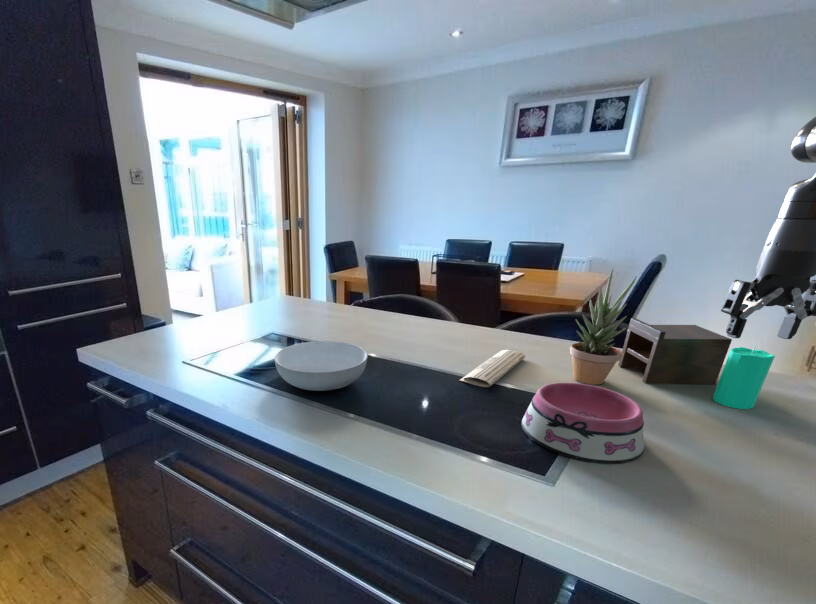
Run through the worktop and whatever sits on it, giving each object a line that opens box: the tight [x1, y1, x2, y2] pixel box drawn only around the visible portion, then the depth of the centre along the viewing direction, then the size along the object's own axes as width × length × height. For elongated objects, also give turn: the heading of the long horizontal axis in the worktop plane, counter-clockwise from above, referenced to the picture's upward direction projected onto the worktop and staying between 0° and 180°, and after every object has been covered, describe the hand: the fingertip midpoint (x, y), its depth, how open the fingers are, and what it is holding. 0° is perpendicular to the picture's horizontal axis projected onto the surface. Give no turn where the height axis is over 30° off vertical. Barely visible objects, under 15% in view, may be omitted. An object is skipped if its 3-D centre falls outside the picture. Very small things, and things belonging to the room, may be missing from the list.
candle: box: [712, 344, 776, 410], centre depth 84 cm, size 6×6×12 cm
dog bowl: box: [520, 382, 645, 464], centre depth 76 cm, size 18×19×7 cm
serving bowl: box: [274, 340, 368, 392], centre depth 100 cm, size 21×21×7 cm
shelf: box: [618, 317, 733, 386], centre depth 98 cm, size 14×11×12 cm
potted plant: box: [569, 267, 638, 385], centre depth 94 cm, size 10×10×25 cm
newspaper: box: [458, 349, 526, 388], centre depth 106 cm, size 24×7×2 cm, turn 138°
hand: (758, 337), depth 81 cm, fingers open, 8 cm apart
